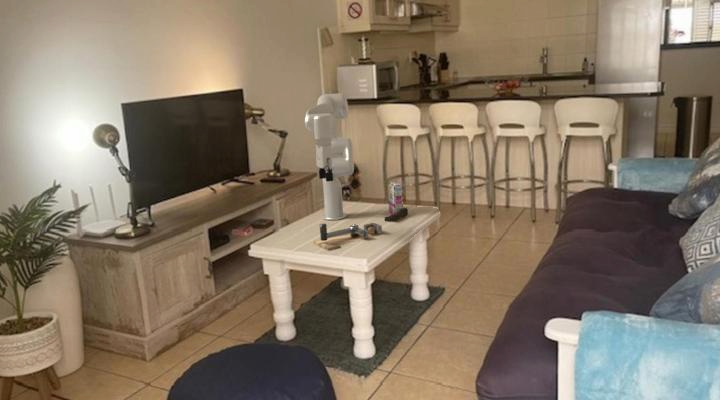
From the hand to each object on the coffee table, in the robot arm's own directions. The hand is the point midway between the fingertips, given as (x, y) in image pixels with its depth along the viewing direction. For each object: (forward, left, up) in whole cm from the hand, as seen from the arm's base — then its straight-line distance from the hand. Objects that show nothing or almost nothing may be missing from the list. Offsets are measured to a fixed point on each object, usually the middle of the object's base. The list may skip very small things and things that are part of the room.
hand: (326, 179), depth 270 cm
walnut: (+13, +15, -26) cm, 33 cm away
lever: (+13, 0, -26) cm, 29 cm away
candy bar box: (-13, +48, -28) cm, 57 cm away
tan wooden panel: (+10, +5, -28) cm, 30 cm away
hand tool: (-4, +41, -28) cm, 50 cm away
